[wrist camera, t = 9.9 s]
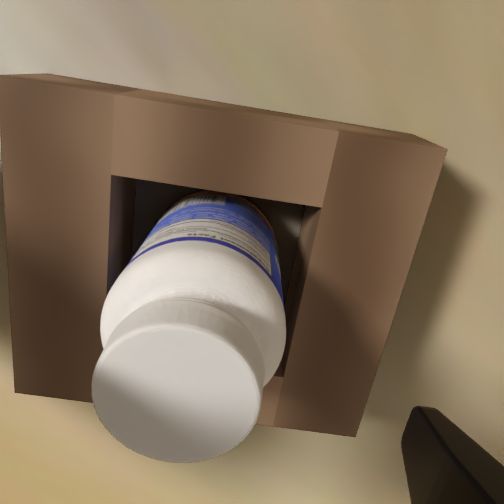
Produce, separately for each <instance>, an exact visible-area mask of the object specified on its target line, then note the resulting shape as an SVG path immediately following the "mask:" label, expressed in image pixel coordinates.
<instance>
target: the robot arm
mask: <svg viewBox="0 0 504 504" xmlns="http://www.w3.org/2000/svg"><path fill="white" fill-rule="evenodd" d="M401 448H402V454H403V460H404V465H405V471H406V476H407V482H408V488H409V493H410V499H411V504H504V466H503V465H502V464H501V463H499V462H498V461H497V460H496V459H495V458H494V457H492V456H491V455H490V454H489V453H488V452H487V451H485V450H484V449H483V448H482V447H481V446H480V445H478V444H477V443H476V442H475V441H474V440H473V439H471V438H470V437H469V436H468V435H467V434H465V433H464V432H463V431H462V430H461V429H460V428H458V427H457V426H456V425H455V424H454V423H453V422H451V421H450V420H449V419H448V418H447V417H446V416H444V415H443V414H442V413H441V412H440V411H438V410H437V409H435V408H430V407H423V406H416V407H414V408H413V410H412V411H411V414H410V417H409V419H408V422H407V425H406V427H405V430H404V433H403V436H402V440H401Z"/></svg>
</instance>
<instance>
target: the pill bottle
mask: <svg viewBox="0 0 504 504" xmlns="http://www.w3.org/2000/svg"><path fill="white" fill-rule="evenodd" d="M100 334H101V341H102V346H103V349H104V350H103V351H102V353H101V355H100V357H99V359H98V362H97V364H96V367H95V369H94V373H93V376H92V384H91V386H92V399H93V403H94V407H95V410H96V412H97V414H98V417H99V419H100V420H101V422H102V423H103V425H104V426H105V428H106V429H107V430H108V431H109V432H110V433H111V435H113V436H114V437H115V438H116V439H117V440H118V441H119V442H121V443H122V444H123V445H125V446H126V447H128V448H129V449H131V450H133V451H135V452H137V453H139V454H141V455H144V456H146V457H149V458H153V459H156V460H161V461H166V462H174V463H191V462H199V461H204V460H208V459H211V458H215V457H217V456H220V455H222V454H224V453H226V452H228V451H230V450H231V449H233V448H234V447H236V446H237V445H238V444H240V443H241V442H242V441H243V440H244V439H245V438H246V437H247V436H248V434H249V433H250V432H251V430H252V429H253V427H254V425H255V423H256V422H257V419H258V416H259V413H260V408H261V402H262V392H263V387H264V386H265V385H266V384H267V383H268V382H269V381H270V379H271V378H272V377H273V375H274V373H275V372H276V370H277V368H278V366H279V364H280V361H281V359H282V356H283V352H284V348H285V342H286V320H285V310H284V302H283V293H282V285H281V274H280V265H279V253H278V246H277V241H276V237H275V234H274V231H273V229H272V227H271V225H270V223H269V221H268V220H267V218H266V217H265V216H264V215H263V213H262V212H261V211H260V210H259V209H258V208H257V207H256V206H254V205H253V204H252V203H250V202H249V201H247V200H246V199H244V198H242V197H240V196H238V195H236V194H231V193H225V192H218V191H212V190H207V191H200V192H196V193H193V194H190V195H187V196H185V197H183V198H182V199H180V200H178V201H177V202H175V203H174V204H173V205H171V206H170V207H169V208H168V209H167V210H166V211H165V213H164V214H163V215H162V216H161V218H160V219H159V220H158V222H157V223H156V225H155V227H154V228H153V229H152V231H151V232H150V234H149V235H148V236H147V238H146V239H145V241H144V242H143V244H142V245H141V246H140V248H139V249H138V251H137V252H136V253H135V255H134V256H133V258H132V259H131V260H130V262H129V263H128V264H127V266H126V267H125V269H124V270H123V271H122V273H121V274H120V275H119V277H118V278H117V280H116V281H115V283H114V284H113V286H112V288H111V289H110V291H109V293H108V295H107V297H106V300H105V302H104V305H103V309H102V314H101V321H100Z"/></svg>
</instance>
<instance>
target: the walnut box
mask: <svg viewBox="0 0 504 504" xmlns="http://www.w3.org/2000/svg"><path fill="white" fill-rule="evenodd" d="M0 136H1V154H2V172H3V190H4V208H5V226H6V244H7V262H8V280H9V298H10V316H11V334H12V352H13V370H14V388H15V393H22V394H29V395H37V396H44V397H52V398H60V399H67V400H75V401H83V402H90V403H93V399H92V386H91V384H92V376H93V373H94V369H95V367H96V364H97V362H98V359H99V357H100V355H101V353H102V351H103V350H104V349H103V346H102V341H101V334H100V321H101V314H102V309H103V305H104V302H105V300H106V297H107V295H108V293H109V291H110V289H111V288H112V286H113V284H114V283H115V281H116V280H117V278H118V277H119V275H120V274H121V273H122V271H123V270H124V269H125V267H126V266H127V264H128V263H129V262H130V260H131V257H132V240H133V224H134V207H135V190H136V179H141V180H148V181H154V182H161V183H167V184H174V185H180V186H186V187H193V188H199V189H206V190H212V191H218V192H225V193H231V194H238V195H244V196H250V197H257V198H263V199H270V200H276V201H283V202H289V203H295V204H302V205H306V206H305V211H304V216H303V220H302V225H301V230H300V235H299V239H298V244H297V249H296V254H295V258H294V263H293V268H292V273H291V277H290V282H289V287H288V292H287V296H286V301H285V306H284V310H285V320H286V342H285V348H284V352H283V356H282V359H281V361H280V364H279V366H278V368H277V370H276V372H275V373H274V375H273V377H272V378H271V379H270V381H269V382H268V383H267V384H266V385H265V386H264V387H263V392H262V402H261V408H260V413H259V416H258V419H257V422H256V423H255V424H258V425H266V426H274V427H281V428H289V429H297V430H304V431H312V432H320V433H327V434H335V435H342V436H350V437H356V434H357V431H358V428H359V424H360V421H361V418H362V415H363V412H364V409H365V406H366V403H367V399H368V396H369V393H370V390H371V387H372V384H373V381H374V378H375V375H376V371H377V368H378V365H379V362H380V359H381V356H382V353H383V350H384V346H385V343H386V340H387V337H388V334H389V331H390V328H391V325H392V322H393V318H394V315H395V312H396V309H397V306H398V303H399V300H400V297H401V293H402V290H403V287H404V284H405V281H406V278H407V275H408V272H409V268H410V265H411V262H412V259H413V256H414V253H415V250H416V247H417V244H418V240H419V237H420V234H421V231H422V228H423V225H424V222H425V219H426V215H427V212H428V209H429V206H430V203H431V200H432V197H433V194H434V190H435V187H436V184H437V181H438V178H439V175H440V172H441V169H442V166H443V162H444V159H445V156H446V153H447V150H448V149H446V148H443V147H441V146H439V145H436V144H434V143H432V142H429V141H427V140H425V139H422V138H420V137H418V136H415V135H413V134H409V133H403V132H396V131H390V130H384V129H378V128H372V127H366V126H360V125H354V124H348V123H342V122H336V121H330V120H324V119H318V118H312V117H306V116H300V115H294V114H288V113H282V112H276V111H270V110H264V109H258V108H252V107H246V106H240V105H234V104H228V103H222V102H216V101H210V100H204V99H198V98H192V97H186V96H179V95H173V94H167V93H161V92H155V91H149V90H143V89H137V88H131V87H125V86H119V85H113V84H107V83H101V82H95V81H89V80H83V79H77V78H71V77H65V76H59V75H53V74H17V75H0Z"/></svg>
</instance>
